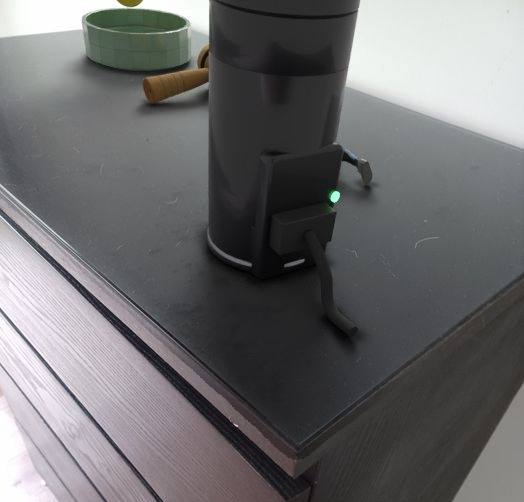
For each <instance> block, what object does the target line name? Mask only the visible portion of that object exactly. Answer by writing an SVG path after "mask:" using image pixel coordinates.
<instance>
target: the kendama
mask: <svg viewBox="0 0 524 502" xmlns="http://www.w3.org/2000/svg"><path fill="white" fill-rule="evenodd" d="M196 66H197V68H194V69H192V68H191V69H186V70H181V71H176V72H171V73H165V74H159V75H153V76H146V77H144V78H143V79H142V88H143V93H144V95H145V98H146V100H147V101H148V102H149V103H150V104H151V105H154V104H156V103H157V104H158V103H160V102H161V101H163V100H166V99H169V98H172V97H176V96H178V95H180V94H183V93H186V92H189V91H192V90H194V89H196V88H199V87H201V86H203V85H206V84H208V83H209V43H208V44H207V45H205V46H204V47H203V48H202V49H201V50H200V52H199V54H198V55H197V61H196Z"/></svg>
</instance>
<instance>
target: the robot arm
mask: <svg viewBox="0 0 524 502" xmlns="http://www.w3.org/2000/svg"><path fill="white" fill-rule="evenodd" d="M208 3H209V4H208V44H209V82H208V150H207V151H208V162H207V163H208V165H207V166H208V168H207V169H208V173H207V174H208V175H207V178H208V181H207V183H208V185H207V187H208V188H207V189H208V191H207V192H208V193H207V196H208V197H207V199H208V224H207V228H206V243H207V246H208V248H209V250H210V251H211V253H212V254H213V255H214V256H215V257H216V258H217V259H219V260H220V261H221V262H223V263H225V264H226V265H228V266H231V267H234V268H235V269H238V270H242V271H246V272H249V273H251V274H253V275H254V276H255V277H256V279H258V280H264V279H268V278H272V277H276V276H278V275H282V274H285V273H286V274H287V273H289V272H293V271H296V270H297V271H298V270H300V269H304V268H306V267H310V266H313V265H315V266H316V270H317V272H318V276H319V281H320V299H321V305H322V308H323V311H324V312H325V314H326V316H327V318H328V320H330V321H331V322H332V323H333V324H334V326H335V327H337V328H338V329H340V330H341V331H342V332H343V333H345V334H346V335H347V336H348V337H354V336H356V334H357V333H358V331H359V327H357V326H356V325H355V324H354V323H353V322H352V321H351V320H350V319H348V318H347V317H345V316H344V315H343V314H342V313H341V312H340V311H339V309H338V308H337V306H336V303H335V300H334V281H333V273H332V270H331V266H330V264H329V261H328V258H327V255H326V251H327V246H328V244H329V243H331V242H332V239H333V233H334V229H335V223H336V218H337V210H336V209H335V208H334V207H335V203H336V202H337V201H338V200H339V199H340V196H341V195H340V192H339V191H337V190H338V185H339V180H340V174H341V168H342V162H343V161H342V158H343V152H344V149H343V148H344V146H343V145H342V144H341V143H339V142H337V138H338V132H339V126H340V122H341V115H342V108H343V104H344V97H345V92H346V87H347V86H346V85H347V79H348V74H349V73H348V72H349V67H350V62H351V57H352V50H353V45H354V39H355V34H356V27H357V22H358V15H359V9H360V7H361V6H360V5H361V0H208Z"/></svg>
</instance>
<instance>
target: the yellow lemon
mask: <svg viewBox="0 0 524 502" xmlns="http://www.w3.org/2000/svg"><path fill="white" fill-rule="evenodd" d="M116 1H117V3H119V5H122V6H124V7H125V8H136V7H137V6H139V5H141V4H142V3H143V2H144V0H116Z"/></svg>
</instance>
